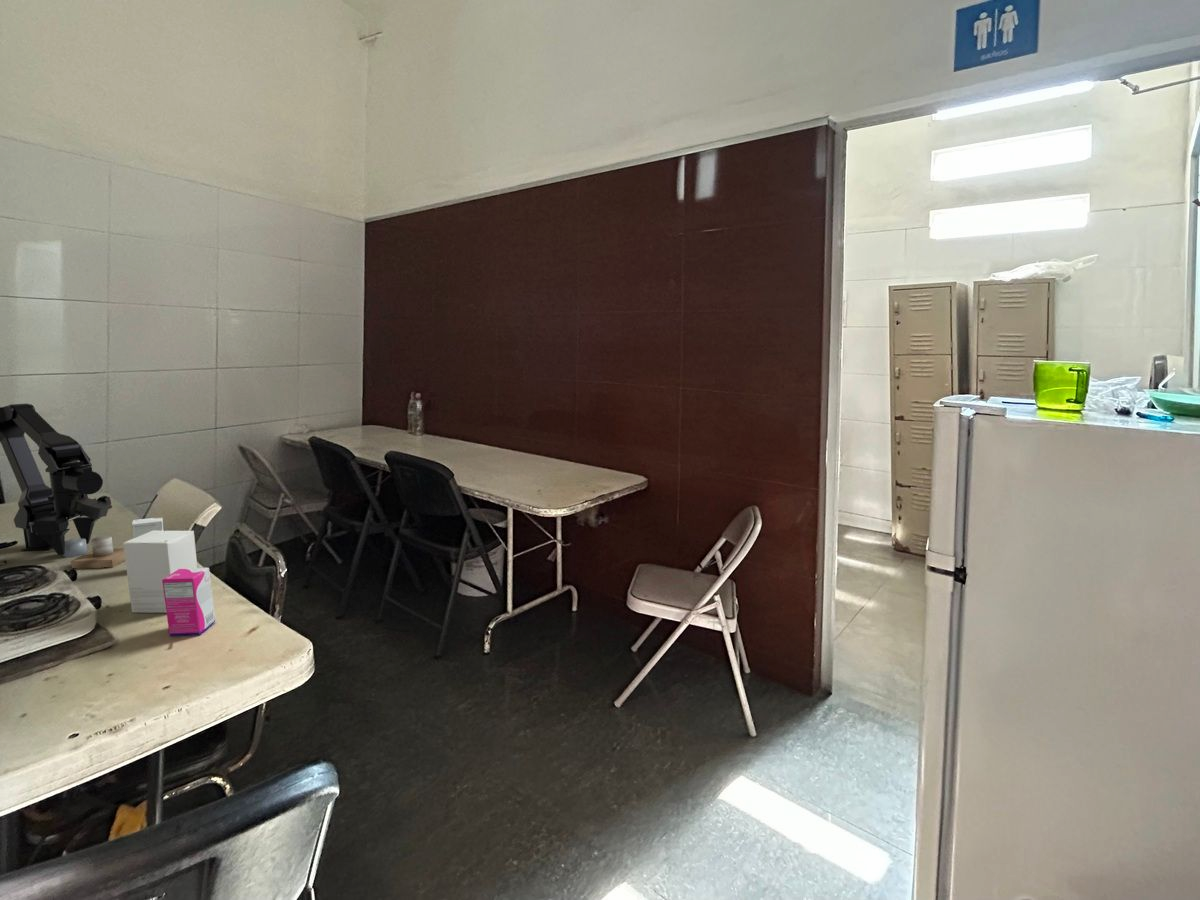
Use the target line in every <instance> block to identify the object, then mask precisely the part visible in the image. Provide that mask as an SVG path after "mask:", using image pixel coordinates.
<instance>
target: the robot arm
mask: <svg viewBox="0 0 1200 900" xmlns="http://www.w3.org/2000/svg"><path fill="white" fill-rule="evenodd" d="M25 434H26V435H27V436H28V437H29V438H30V439H31V440H32V441H33V442H34V443H35V444H36V446H38V451H37V454H38V456H39V457H40V460H41V461H42V462H43V463H44V464H45V465H46V468H45V469H44V470H45V472H46V473H48V474H49V481H50V487H49V486H48V485H46V484H45V481H44V479H43V477H42V475H41V471H40V469H39V468H38V465H37V463H36V460H35V458H34V456H33V454H32V451H31V448H30V447H29V444H28V441H27V440H26V437H25ZM0 445H1V447H2V448H3V451H4V454H5V456H6V458H7V460H8V463H9V465H10V467H11V470H12V473H13V474H14V477H15V479H16V481H17V483H18V486H19V489H20V491H21V494H20V496H19V500H18V501H17V506H18V508H19V509H18V511H17V512H16V514H15V517H13V523H14V525H15V528H19V529H21V530H22V531H23V538H24V543H25V544H24V545H25V547H21V548H20V550H21V551H46V550H47V551H48V550H51V549H53V550H54V552H55V553H56V554H57V555H58V556H62V555H64V554H65V541H66V539H65V538H66V537H65V536H66V535H67V533H68V532H69V531H70V530H71V529H70V528H68V527H69V525H70V524H69V522H71V521H73V525H74V526H75V528H76V531H77V534H78V535H79V539H86V544H87V545H88V544H90V540H91V536H92V532H93V530H94V526H95V523H96V522H98V520H100V519H101V518H102V517H107V516H108V515H107V514H108V511H109V510H111V509H112V508H113V505H112V501H111V497H110V496H107V495H102V496H100V497H98V498H96V497H94V498H89V496H88V495H93V494H95V493H97V492H98V491H100V490H101V489H102V486H103V485H104V484H103V483H104V482H103V480H104V479H103V478H102V476H101V475H100V474H99V473H98V472H96V471H93V467H92V466H93V465H92V462H91V461H92V460H91V458H90V457H89V456H88V455H89V454H87V452H85V450H84V448H83V447H82V445H81V444H80V443H79V442H78V441H77V440H76V439H74V438H72V437H71V436H70V435H66V434H63V433H60V432H58V431H57V430H56V429H55V428H54V427H53V426H52V425H51V424H49V423H48V421H46V419H44V418H43V417H42V416H41V415H40V414H39V413H38V412H37V411H36V408H35V406H34V405H33V404H32V403H31V404H30V403H14V404H13V403H12V404H8V405H5V406H2V407H1V406H0Z"/></svg>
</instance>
